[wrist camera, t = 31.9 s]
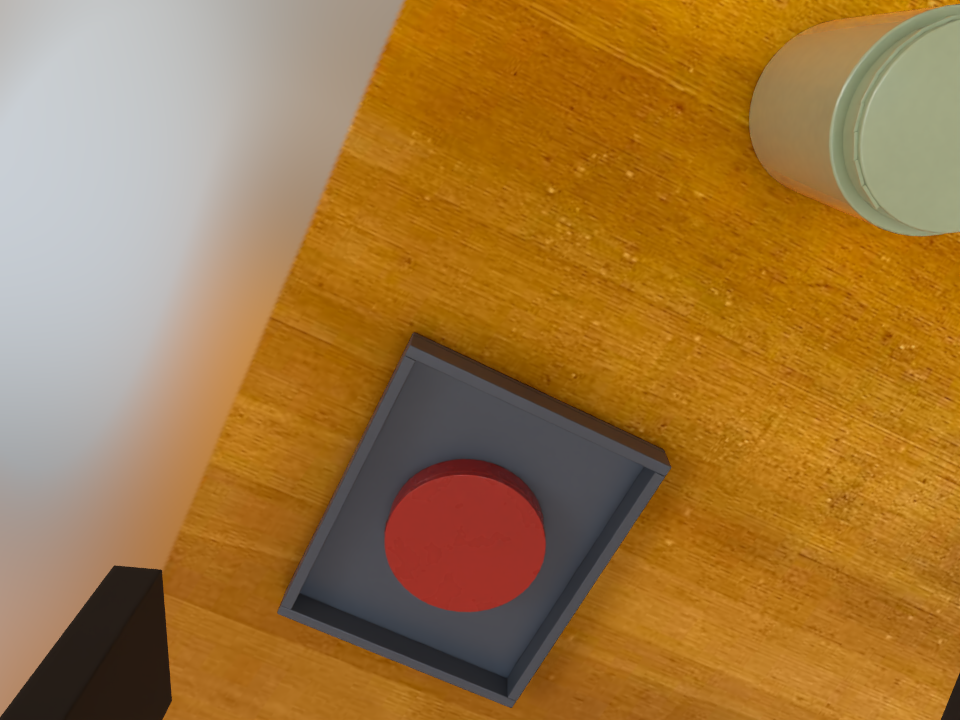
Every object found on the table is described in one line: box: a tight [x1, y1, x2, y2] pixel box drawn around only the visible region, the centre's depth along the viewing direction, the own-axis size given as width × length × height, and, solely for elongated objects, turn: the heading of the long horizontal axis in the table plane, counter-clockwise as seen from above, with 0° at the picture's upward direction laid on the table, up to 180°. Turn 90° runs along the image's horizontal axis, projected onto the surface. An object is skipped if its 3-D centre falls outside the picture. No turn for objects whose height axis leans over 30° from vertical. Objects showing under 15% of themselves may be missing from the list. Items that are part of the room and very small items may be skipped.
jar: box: [749, 4, 960, 236], centre depth 30 cm, size 7×7×10 cm
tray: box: [277, 332, 671, 708], centre depth 41 cm, size 17×14×2 cm
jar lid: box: [384, 459, 546, 612], centre depth 41 cm, size 8×8×2 cm
